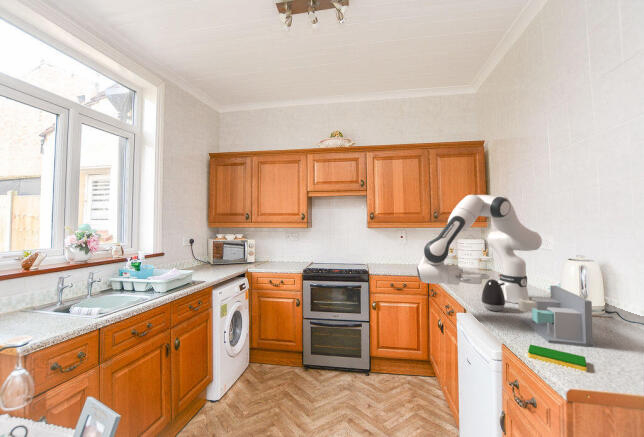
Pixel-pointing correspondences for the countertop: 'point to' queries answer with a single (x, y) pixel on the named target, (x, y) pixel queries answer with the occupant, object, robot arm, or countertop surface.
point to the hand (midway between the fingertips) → (487, 276)
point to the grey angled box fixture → (565, 319)
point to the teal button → (542, 316)
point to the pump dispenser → (493, 295)
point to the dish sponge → (557, 357)
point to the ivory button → (526, 305)
